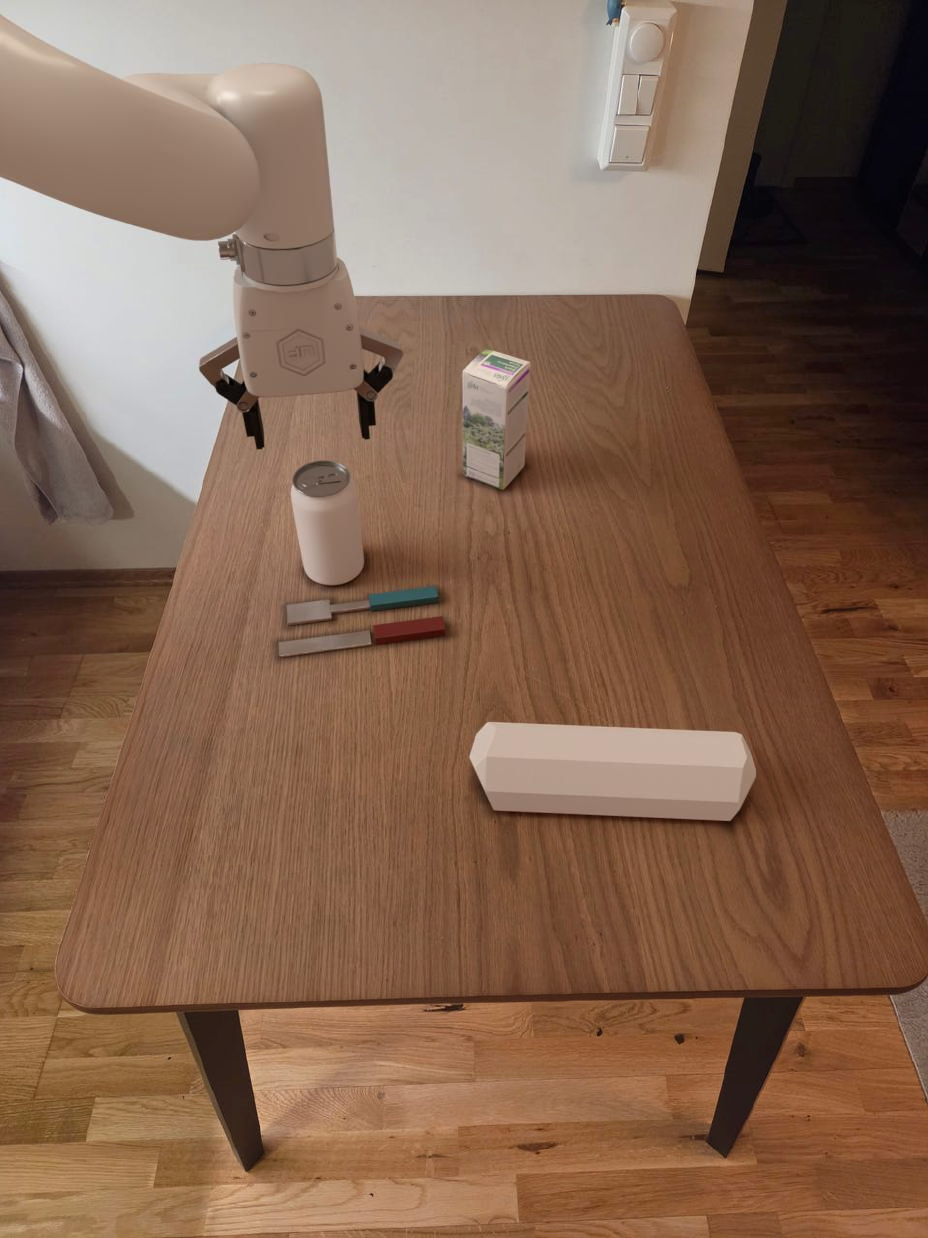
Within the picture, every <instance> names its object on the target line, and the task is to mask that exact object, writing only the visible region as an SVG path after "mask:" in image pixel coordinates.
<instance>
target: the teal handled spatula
mask: <svg viewBox="0 0 928 1238" xmlns="http://www.w3.org/2000/svg"><path fill="white" fill-rule="evenodd" d="M437 603H439V594H438V590H437V586H436V585H434V586H425V587H416V588H409V589H401V590H394V591H386V592H377V593H370V594H368V599H366V600H358V601H351V602H343V603H335V604H331V600H330V598H329V599H322V600H314V601H313V600H312V601H306V602H298V603H291V604H286V615H287V616H286V617H287V626H294V625H295V626H296V625H305V624H310V623H312V624H313V623H318V622H326V621H332V620H333V617H332V615H336V614H344V613H351V612H352V613H353V612H360V611H366V610H367V611H368V610H370V612H375V611H376V612H377V611H384V610H390V609H398V608H406V607H414V606H421V605H422V606H423V605H430V604H437Z"/></svg>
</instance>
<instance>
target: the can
mask: <svg viewBox="0 0 928 1238" xmlns="http://www.w3.org/2000/svg"><path fill="white" fill-rule="evenodd" d="M291 484H292V485H291V488H290V501H291V506H292V514H293V518H294V524H295V528H296V529H295V530H296V534H297V539H298V540H297V541H298V544H299V551H300V555H301V562H302V566H303V570H304V572H305V574H306V576H307V577H308V578H309V579H310V580H312V581H313V582H315V583H317V584H319V585H324V586H330V587H331V586H333V587H334V586H341V585H344V584H347V583H350V582H352V581H353V580H354V579H356V578H357V576H359V575H360V574H361V572H362V571H363V569H364V565H365V556H364V555H365V554H364V547H363V546H364V545H363V538H362V536H363V535H362V527H361V520H360V519H361V518H360V510H359V501H358V494H357V488H356V484H355V482H354V480H353V479H352V477H351V473H350V471H349V469H348V468H347V466H345V465H344V464H342V463H340V462H338V461H334V460H327V459H322V460H321V459H320V460H319V459H318V460H314V461H310V462H308V463H305V464H303V465H301V466H300V467H299V468H297V469H296V470H295V472H294V473H293V475H292V483H291Z"/></svg>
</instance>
